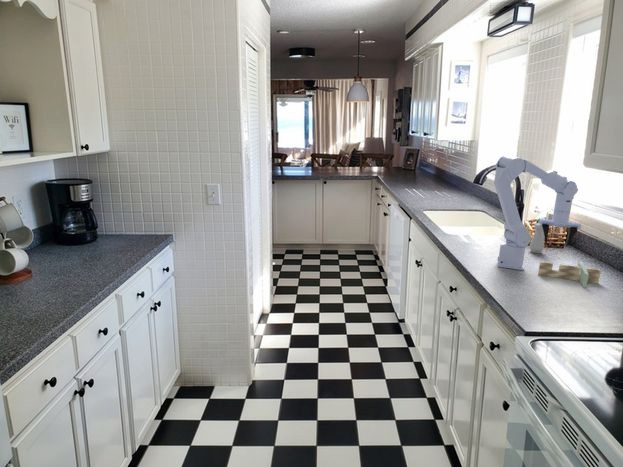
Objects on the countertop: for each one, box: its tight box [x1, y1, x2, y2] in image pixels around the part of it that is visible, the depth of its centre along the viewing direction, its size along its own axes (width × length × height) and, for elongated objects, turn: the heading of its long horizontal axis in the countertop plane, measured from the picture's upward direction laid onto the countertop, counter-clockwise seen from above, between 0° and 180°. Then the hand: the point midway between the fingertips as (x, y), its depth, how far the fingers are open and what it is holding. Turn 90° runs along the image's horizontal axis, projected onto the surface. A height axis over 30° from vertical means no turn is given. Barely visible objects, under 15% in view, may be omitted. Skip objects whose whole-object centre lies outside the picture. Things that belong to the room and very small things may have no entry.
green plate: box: [577, 261, 589, 289], centre depth 175 cm, size 16×1×5 cm, turn 158°
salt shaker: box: [528, 222, 545, 255], centre depth 209 cm, size 6×6×13 cm
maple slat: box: [537, 261, 602, 284], centre depth 176 cm, size 20×1×5 cm, turn 68°
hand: (556, 244), depth 189 cm, fingers open, 7 cm apart
